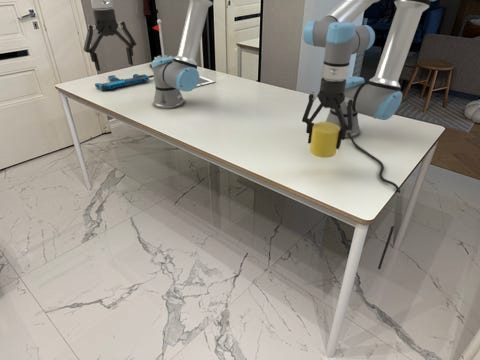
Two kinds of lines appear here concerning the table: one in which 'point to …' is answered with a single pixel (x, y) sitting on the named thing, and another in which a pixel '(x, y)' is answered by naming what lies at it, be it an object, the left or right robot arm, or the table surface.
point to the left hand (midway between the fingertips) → (115, 67)
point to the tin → (324, 139)
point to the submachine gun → (122, 81)
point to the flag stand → (158, 27)
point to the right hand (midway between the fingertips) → (323, 144)
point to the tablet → (204, 81)
